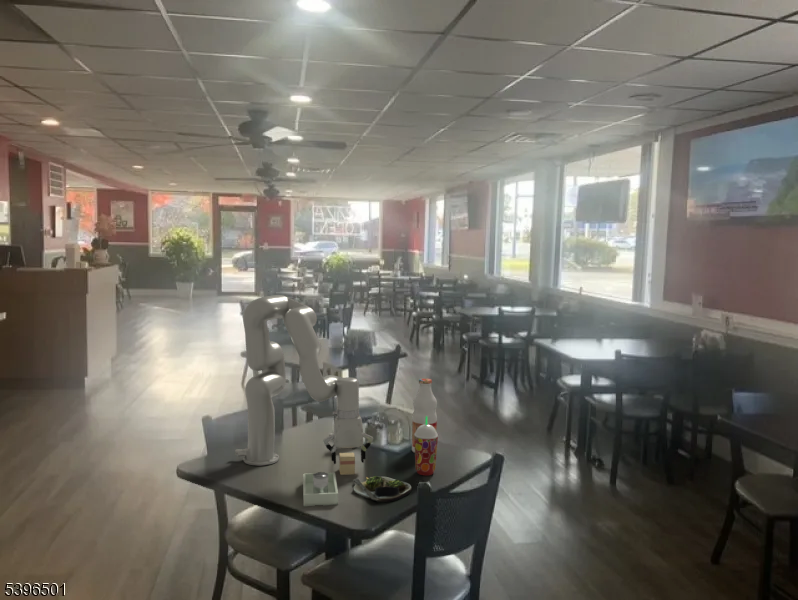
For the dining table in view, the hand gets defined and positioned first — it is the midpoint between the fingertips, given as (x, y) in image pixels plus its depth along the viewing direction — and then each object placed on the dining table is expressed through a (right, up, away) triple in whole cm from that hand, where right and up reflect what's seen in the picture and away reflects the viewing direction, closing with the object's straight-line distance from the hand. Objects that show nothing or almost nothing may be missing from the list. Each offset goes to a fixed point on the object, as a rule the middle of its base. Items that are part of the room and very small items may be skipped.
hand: (348, 462), depth 224 cm
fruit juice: (+27, -2, +24) cm, 36 cm away
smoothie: (+27, -4, +1) cm, 27 cm away
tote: (-8, -5, -20) cm, 22 cm away
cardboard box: (-1, -4, 0) cm, 4 cm away
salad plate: (+12, -6, -17) cm, 22 cm away
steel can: (-7, -5, -23) cm, 25 cm away
